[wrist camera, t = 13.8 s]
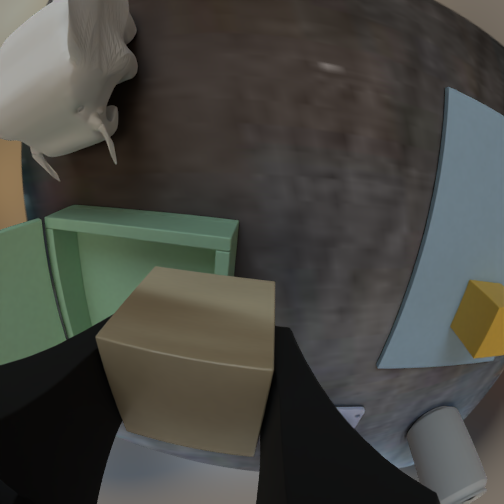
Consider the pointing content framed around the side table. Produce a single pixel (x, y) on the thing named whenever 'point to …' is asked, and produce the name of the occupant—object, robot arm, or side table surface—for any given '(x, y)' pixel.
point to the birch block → (193, 359)
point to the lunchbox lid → (26, 294)
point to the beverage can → (446, 456)
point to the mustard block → (481, 319)
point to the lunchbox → (127, 255)
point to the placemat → (454, 238)
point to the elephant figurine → (65, 76)
